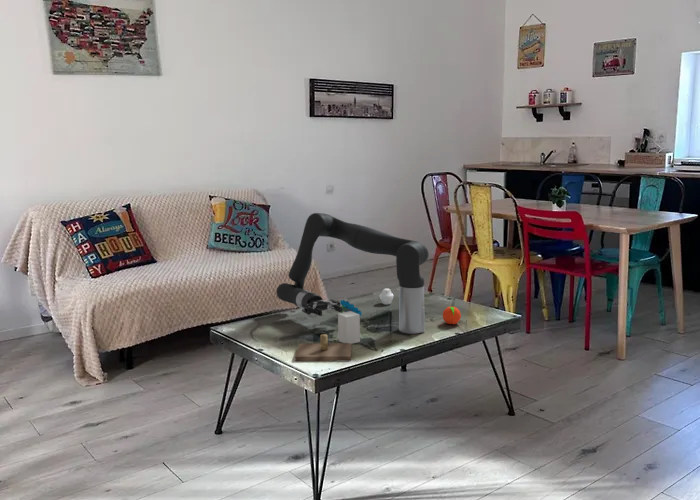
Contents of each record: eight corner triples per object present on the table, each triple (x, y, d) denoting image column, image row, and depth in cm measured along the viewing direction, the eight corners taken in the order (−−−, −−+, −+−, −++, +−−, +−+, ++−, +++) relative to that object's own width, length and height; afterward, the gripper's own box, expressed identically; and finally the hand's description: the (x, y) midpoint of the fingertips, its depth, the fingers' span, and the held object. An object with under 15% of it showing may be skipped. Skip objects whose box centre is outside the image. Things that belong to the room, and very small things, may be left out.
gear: (367, 314, 246) (350, 299, 242) (359, 326, 244) (342, 311, 240) (352, 311, 255) (336, 297, 251) (345, 323, 253) (328, 309, 249)
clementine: (462, 327, 232) (463, 309, 231) (444, 327, 232) (444, 309, 231) (459, 321, 240) (459, 303, 239) (441, 321, 240) (441, 304, 239)
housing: (351, 337, 222) (350, 311, 220) (359, 341, 218) (359, 314, 216) (338, 340, 219) (337, 313, 217) (346, 344, 215) (346, 317, 213)
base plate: (351, 347, 212) (351, 329, 211) (350, 360, 199) (350, 341, 198) (299, 347, 212) (298, 329, 211) (295, 361, 200) (294, 341, 198)
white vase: (393, 301, 270) (393, 286, 269) (393, 305, 264) (393, 289, 263) (379, 301, 270) (379, 286, 269) (379, 305, 264) (379, 289, 263)
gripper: (292, 294, 235) (314, 304, 221) (324, 289, 243) (347, 298, 229) (293, 313, 236) (314, 324, 223) (325, 308, 244) (347, 318, 231)
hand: (331, 311), depth 226 cm, fingers open, 8 cm apart
